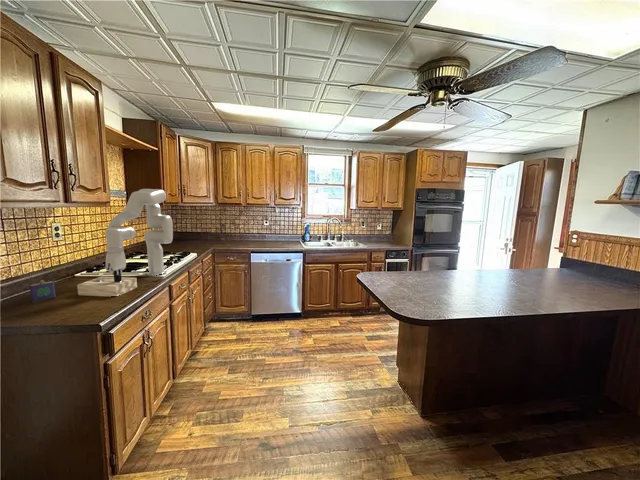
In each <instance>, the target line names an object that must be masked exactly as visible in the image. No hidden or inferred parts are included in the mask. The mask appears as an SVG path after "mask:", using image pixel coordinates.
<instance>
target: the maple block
mask: <svg viewBox="0 0 640 480" xmlns="http://www.w3.org/2000/svg"><path fill="white" fill-rule="evenodd" d="M121 278H122V282H120V283H114V276H98V277H95V278H93V279H90V280H87V281H84V282H82V283H79V284H77V294H78V296H90V297H92V296H93V297H111V296H118V297H119V295H120V296H122V295H124V294H126V293H128V292H130V291H132V290H134V289H136V288H138V282H137V277H125V276H124V277H123V276H121ZM95 280H102V281H100V282H94V281H95Z"/></svg>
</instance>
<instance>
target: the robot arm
mask: <svg viewBox="0 0 640 480" xmlns="http://www.w3.org/2000/svg"><path fill="white" fill-rule="evenodd" d="M166 199H167V193H166V192H165V191H164V190H163V189H161V188H160V189H159V188H155V189H153V188H142V189H139V190H137V191H133V192H131V194H130V196H129V198H128V201H127V203H126V205H125V208H124V210H122V211H121V212H119V213H118V214H117V215H115V216H113V217H112V219H111V220H110V222H109V224H108V226H107V228H106V230H105V242H106V250H107V251H106V255H105V271H108V274H111V275H113V277H114V281H115V282H120V281H122V278H121V277H122V274H123V270H125V269H126V267H127V259H126V255H125V251H124V249H125V248H124V240H132V239H134V238H135V237H136V234H137V232H136V230H135V228H133V227H132V226H122V225H123V224H125V223H126V222H128V221H132V220H135V219H137V218H139V217H140V216H141V214H142V210H143V209H144V206H145V209H146V225H147V227H149V228H150V229H149V230H147V231H146V232H144V240H145V243H146V249H147V250H146V251H147V254H146V255H147V264H148V271H149V273H147V272H145V274H147V275H146V276H149V277H150V276H151V277H154V276H156V275H157V276H160V275H159V274H163V273H165V274H167V273H166V272H167V270H166V271H165V272H164V270H165V269H166V268H167V267H168V266H167V265H164V248H163V247H162V245H161V244H171V243H172V242H173V239H174V238H173V237H174V232H173V231H174V228H173V226H174V224H173V218H172V217H171V215H168V214H162V210H161V206H160V204H161V203H164V202H165V201H166ZM151 228H152V229H151ZM162 272H163V273H162ZM163 275H164V274H163Z"/></svg>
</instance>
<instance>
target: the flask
mask: <svg viewBox="0 0 640 480" xmlns="http://www.w3.org/2000/svg"><path fill="white" fill-rule="evenodd" d="M29 291H30V299H31V303H38V302H42V301H47V300H52V299H54V298H56V290H55V283H54V281H53V280H52V281H45V280H44V279H41V280H40V282H36V283H32V284H31V285H29Z"/></svg>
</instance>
